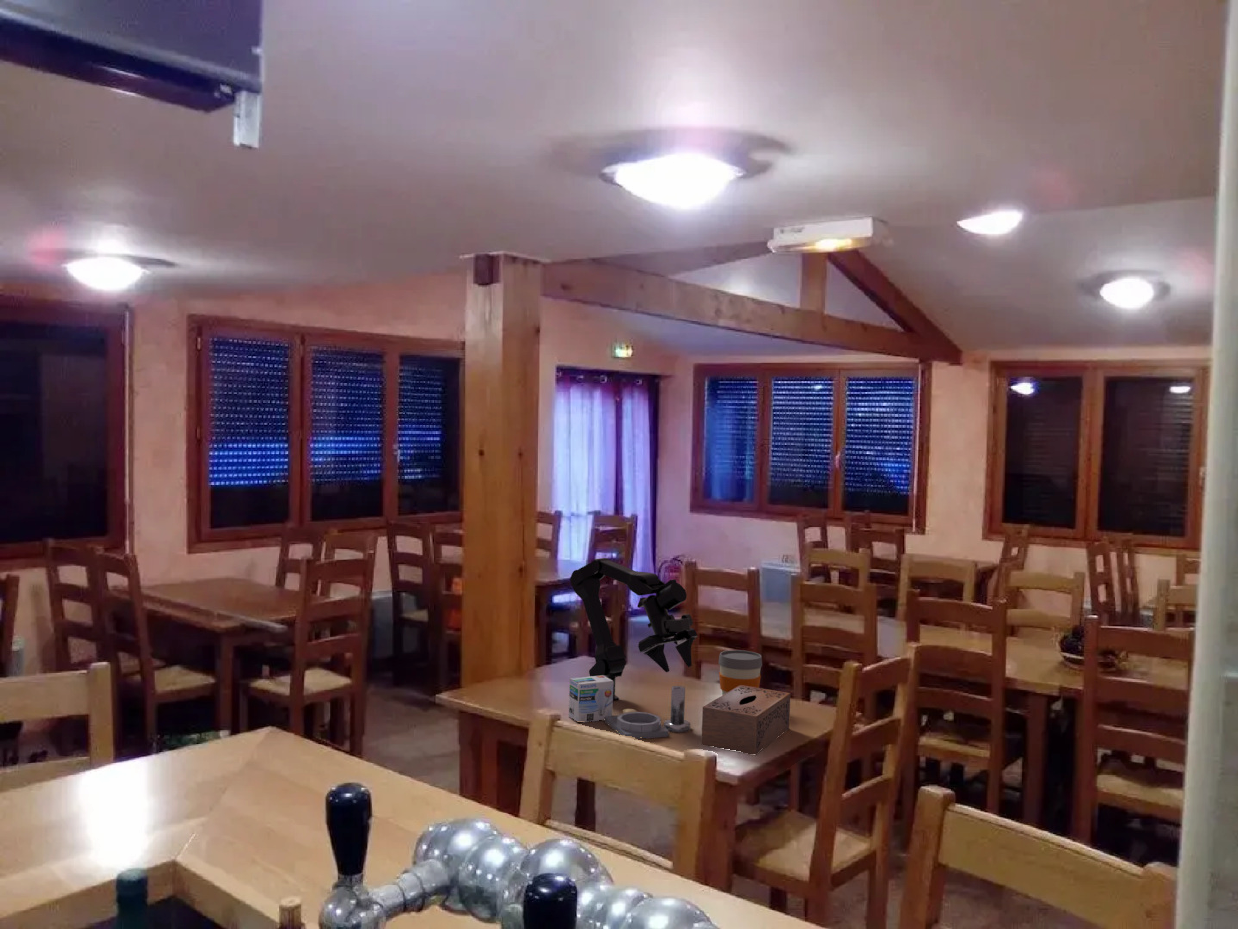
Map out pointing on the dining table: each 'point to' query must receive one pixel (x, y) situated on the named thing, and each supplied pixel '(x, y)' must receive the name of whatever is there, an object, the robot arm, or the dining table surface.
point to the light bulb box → (590, 698)
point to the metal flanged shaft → (677, 711)
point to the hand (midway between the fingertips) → (679, 669)
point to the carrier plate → (634, 734)
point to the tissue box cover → (745, 719)
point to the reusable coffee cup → (739, 669)
